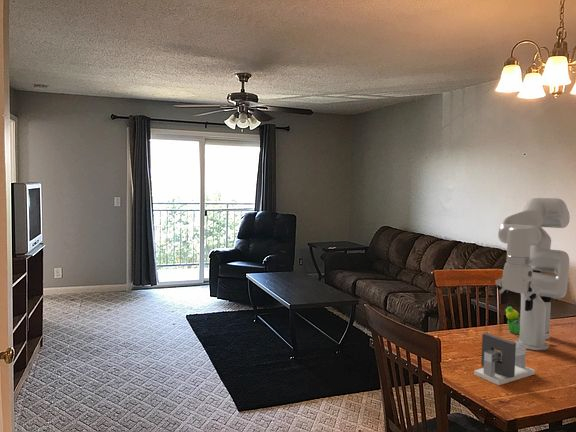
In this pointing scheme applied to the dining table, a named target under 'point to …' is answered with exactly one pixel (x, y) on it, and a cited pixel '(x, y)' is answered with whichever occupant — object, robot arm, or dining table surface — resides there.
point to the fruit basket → (513, 320)
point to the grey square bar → (497, 354)
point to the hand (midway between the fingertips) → (516, 307)
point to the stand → (499, 379)
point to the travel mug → (547, 313)
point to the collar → (508, 353)
